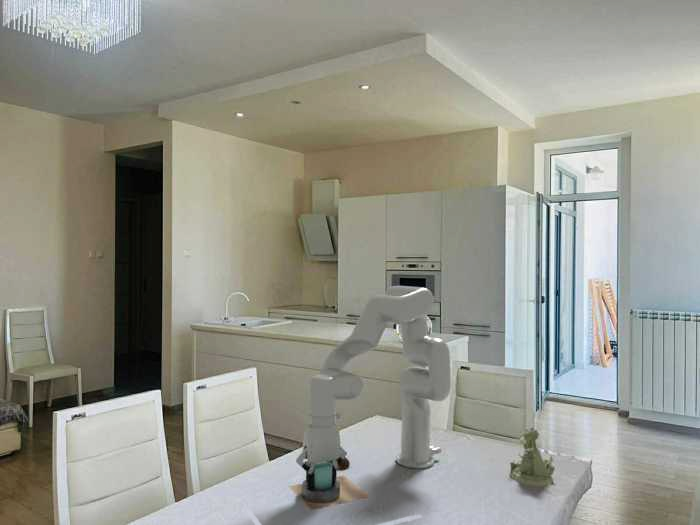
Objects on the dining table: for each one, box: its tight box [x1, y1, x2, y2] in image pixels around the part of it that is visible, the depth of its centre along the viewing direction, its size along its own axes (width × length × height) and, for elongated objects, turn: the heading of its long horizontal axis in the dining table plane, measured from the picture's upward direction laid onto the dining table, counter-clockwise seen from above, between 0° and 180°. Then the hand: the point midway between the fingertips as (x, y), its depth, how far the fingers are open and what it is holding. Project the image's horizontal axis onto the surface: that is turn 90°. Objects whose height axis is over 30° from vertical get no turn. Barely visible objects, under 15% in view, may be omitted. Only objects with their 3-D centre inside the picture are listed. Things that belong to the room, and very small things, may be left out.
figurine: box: [509, 427, 556, 487], centre depth 166 cm, size 14×13×15 cm
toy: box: [304, 456, 351, 470], centre depth 171 cm, size 14×5×15 cm
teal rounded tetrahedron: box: [312, 462, 332, 490], centre depth 149 cm, size 6×6×6 cm
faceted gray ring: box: [301, 479, 340, 504], centre depth 149 cm, size 10×10×3 cm
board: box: [289, 475, 371, 511], centre depth 151 cm, size 18×16×1 cm
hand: (321, 483), depth 149 cm, fingers closed on teal rounded tetrahedron, 6 cm apart
